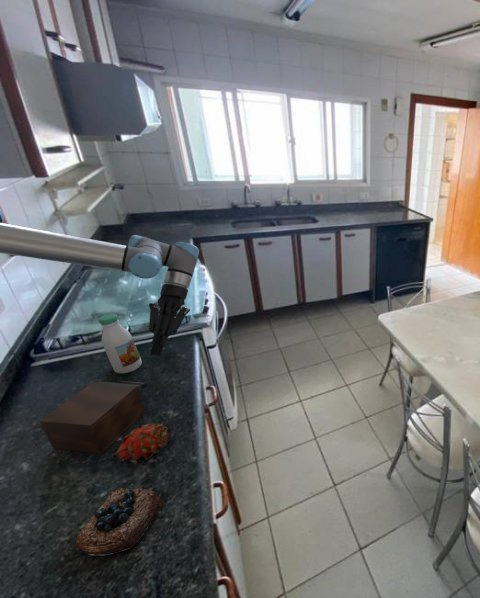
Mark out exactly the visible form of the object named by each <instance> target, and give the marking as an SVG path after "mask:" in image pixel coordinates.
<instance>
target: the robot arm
mask: <svg viewBox="0 0 480 598" xmlns="http://www.w3.org/2000/svg"><path fill="white" fill-rule="evenodd" d="M4 214H5V213H4V212H3V210H2V209H1V208H0V254H4V255H12V256H17V257H25V258H31V259H38V260H46V261H52V262H59V263H60V262H61V263H66V264H73V265H80V266H86V267H92V268H99V269H105V270H106V269H107V270H113V271H121V272H125V273H130V274H132V275H133V276H135V277H137V278H139V279H142V280H143V279H144V280H145V279H153V278H154V277H156V276H157V275H158V274H159V273H160V272H161V270H162V268H163V267H167V269H166V272H165V276H164V279H163V283H164V284H162V285H161V288H160V292H159V294H160V296H159V298H158V299H157V301H156V302H150V303H149V304H148V306H149V323H148V332H150V333H152V334H153V336H152V339H151V344H152V346H151V350H150V353H149V355H151V356H160V357H161V355H162V352H163V348H164V346H165V347H166V345H167V342H168V339H169V337H170V336H175V335H176V333H177V332H178V330H179V328H180V326H181V325H182V323H183V321H184V320H185V317H186V316H187V315H188V313H190V312H191V309H190V308H189V307H187V306H186V305H185V300H186V299H187V297H188V293H189V288H190V286H191V283H192V279H193V275H194V272H195V269H196V266H197V263H198V258H199V254H200V249H199V248H198V247H197V246H196V245H194V244H192V243H189V242H185V241H177V242H176V243H175V244H174V245H173V244H172V245H171V244H168V243H165V242H161V241H158V240H155V239H153V238H149V237H147V236H142V235H137V234H133V235H131V236H130V237H129V241H128V243H127V245H124V244H118V243H113V242H108V241H104V240H97V239H91V238H86V237H81V236H80V237H79V236H75V235H70V234H64V233H59V232H54V231H48V230H44V229H43V230H42V229H37V228H32V227H26V226H21V225H16V224H11V223H10V224H9V223H5V215H4Z"/></svg>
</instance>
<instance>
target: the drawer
mask: <svg viewBox="0 0 480 598" xmlns="http://www.w3.org/2000/svg"><path fill="white" fill-rule="evenodd" d="M99 383H110V384H121V385H132V386H137V387H138V390H139V393H140V396H141V399H142V402H143V405H144V408H145V409H146V407H147V402H146V400H145V396H144V394H143V389H146V388H147V385H148V384H147V382H139V381H128V380H121V381H120V382H111V381H110V382H109V381H99Z"/></svg>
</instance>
